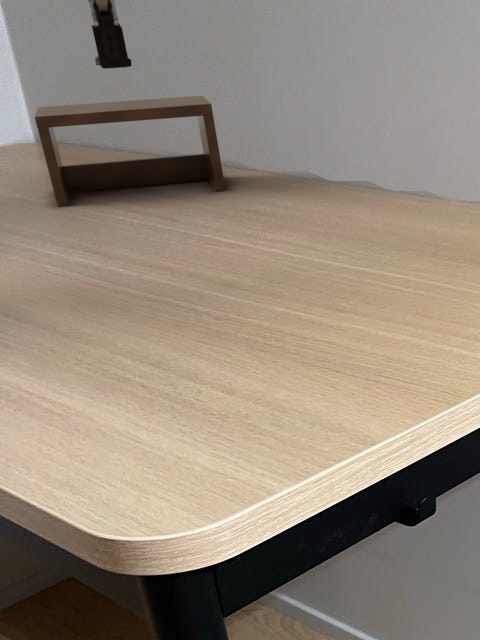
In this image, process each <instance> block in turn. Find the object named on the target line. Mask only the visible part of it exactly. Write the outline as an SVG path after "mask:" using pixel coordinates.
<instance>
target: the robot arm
mask: <svg viewBox="0 0 480 640" xmlns="http://www.w3.org/2000/svg"><path fill="white" fill-rule="evenodd" d="M87 1H88V4H89V9H90V13H91V18H92V23H93V24H92V25H91V28H92V29H91V30H92V33H93V38H94V42H95V48H96V52H97V57H98V56H99V61H100V65H101V66H100V67H101V68H102V69H119V68H129V67H128V66H129V60H128V58H129V55H128V51H127V47H126V42H125V36H124V31H123V27H122V26H121V24H120V21H119V18H118V12H117V8H116V3H115V0H87Z"/></svg>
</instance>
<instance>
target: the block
mask: <svg viewBox="0 0 480 640" xmlns="http://www.w3.org/2000/svg"><path fill="white" fill-rule="evenodd" d="M94 60H95V66H100V67H101V65H100V61H99V56H98V55H97V56H96V57H95V59H94ZM128 60H129V66H128V67H127V68H129V67H132V59H131V58H129V57H128Z"/></svg>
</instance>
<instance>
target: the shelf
mask: <svg viewBox="0 0 480 640" xmlns="http://www.w3.org/2000/svg"><path fill="white" fill-rule="evenodd" d="M190 117H192V118H193V117H197V123H198V129H199V134H200V141H201V146H202V153H194V154H193V153H191V154H182V155H180V154H179V155H170V156H169V155H168V156H159V157H158V156H157V157H146V158H145V157H144V158H136V159H135V158H134V159H123V160H112V161H111V160H110V161H99V162H91V163H90V162H89V163H88V162H87V163H78V164H66V165H63V161H62V158H61V154H60V150H59V146H58V142H57V138H56V134H55V129H54V128H60V127H74V126H87V125H98V124H99V125H100V124H113V123H126V122H127V123H128V122H137V121H139V122H140V121H150V120H151V121H152V120H163V119H164V120H165V119H166V120H167V119H178V118H190ZM34 120H35V125H36V128H37V132H38V136H39V139H40V143H41V148H42V151H43V156H44V159H45V163H46V166H47V171H48V174H49V178H50V182H51V187H52V191H53V194H54V198H55V201H56V206H57V207H66V206H68V205H69V193H76V192H77V193H78V192H79V193H80V192H88V191H100V190H110V189H119V188H120V189H121V188H131V187H141V186H142V187H143V186H144V187H145V186H153V185H154V186H155V185H165V184H175V183H185V182H196V181H197V182H198V181H206V180H207V181H208V180H209V182H210V183H211V185H212V187H213V188H214V190H215V192H221V191H223V192H224V191H226V190H227V189H226V184H225V179H224V173H223V172H224V171H223V166H222V160H221V154H220V147H219V142H218V136H217V130H216V124H215V117H214V111H213V106H212V103H211V102H210V101H209V100H208V99H207V98H206V96H204V95H192V96H191V95H189V96H178V97H177V96H175V97H163V98H162V97H161V98H149V99H136V100H122V101H107V102H93V103H81V104H79V103H78V104H67V105H53V106H39V107H37V109H36V112H35V114H34Z"/></svg>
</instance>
